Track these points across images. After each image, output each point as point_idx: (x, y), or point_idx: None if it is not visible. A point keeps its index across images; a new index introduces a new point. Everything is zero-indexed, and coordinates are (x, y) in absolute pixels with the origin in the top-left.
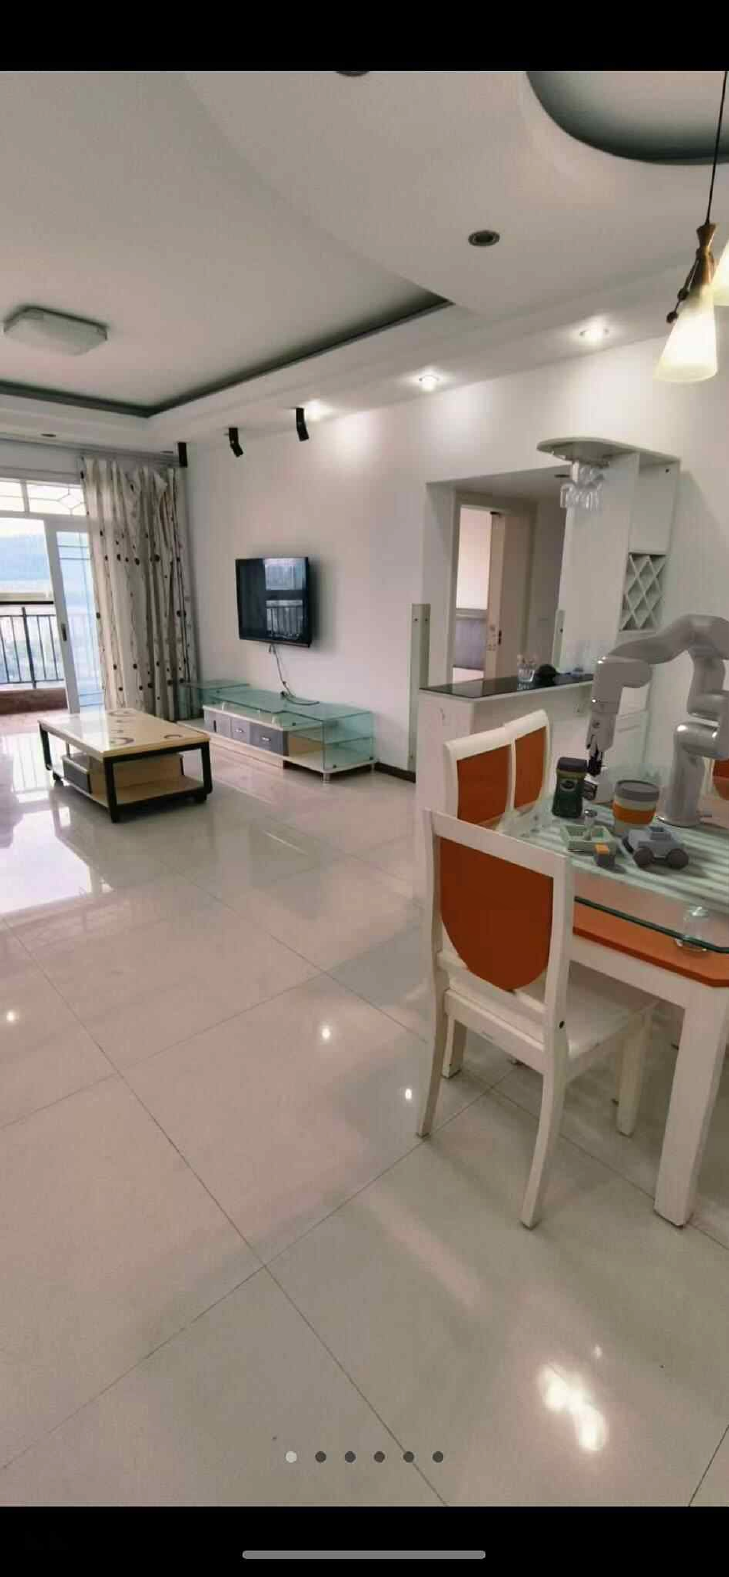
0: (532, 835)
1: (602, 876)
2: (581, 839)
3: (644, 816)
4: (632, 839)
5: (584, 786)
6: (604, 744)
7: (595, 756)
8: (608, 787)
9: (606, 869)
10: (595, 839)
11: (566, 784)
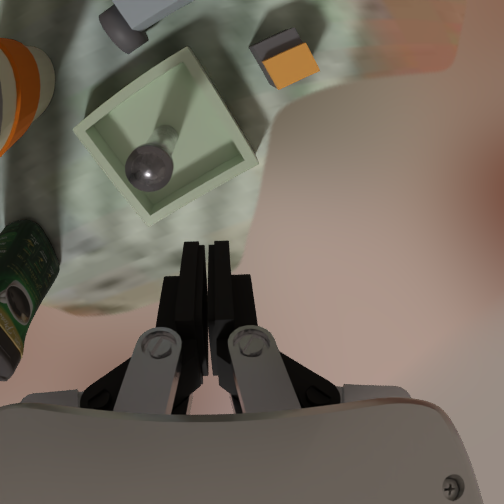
0: None
1: (362, 47)
2: None
3: (11, 44)
4: (173, 7)
5: None
6: (441, 484)
7: (327, 383)
8: None
9: (316, 43)
10: (136, 123)
11: (22, 307)
